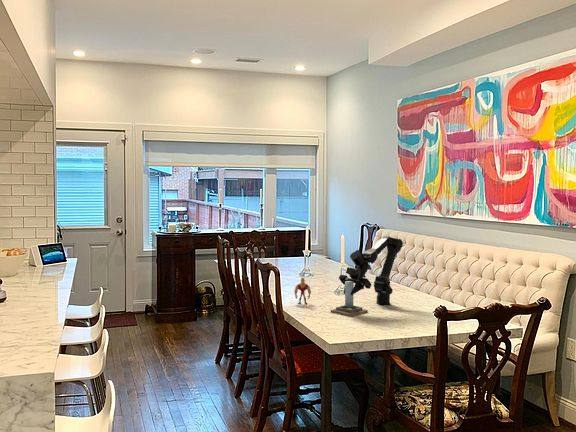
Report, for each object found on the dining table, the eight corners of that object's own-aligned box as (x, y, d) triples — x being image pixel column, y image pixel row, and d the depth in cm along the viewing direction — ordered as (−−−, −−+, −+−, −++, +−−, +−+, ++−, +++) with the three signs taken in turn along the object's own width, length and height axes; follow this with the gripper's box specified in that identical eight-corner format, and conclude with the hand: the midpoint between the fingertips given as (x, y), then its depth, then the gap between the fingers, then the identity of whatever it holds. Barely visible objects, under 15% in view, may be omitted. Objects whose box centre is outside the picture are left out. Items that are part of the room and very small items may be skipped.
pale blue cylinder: (354, 305, 305) (354, 281, 304) (352, 307, 300) (352, 282, 300) (346, 304, 306) (346, 280, 305) (344, 306, 302) (344, 282, 301)
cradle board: (347, 308, 313) (347, 303, 313) (367, 312, 303) (367, 307, 303) (330, 312, 303) (330, 307, 303) (351, 316, 293) (351, 311, 293)
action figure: (294, 304, 323) (294, 278, 322) (294, 302, 326) (294, 276, 326) (310, 304, 323) (311, 278, 322) (310, 303, 326) (311, 277, 325)
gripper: (340, 259, 311) (327, 282, 304) (368, 263, 298) (354, 287, 291) (349, 272, 317) (336, 295, 310) (377, 276, 304) (364, 300, 297)
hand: (347, 294), depth 302 cm, fingers closed on pale blue cylinder, 4 cm apart
